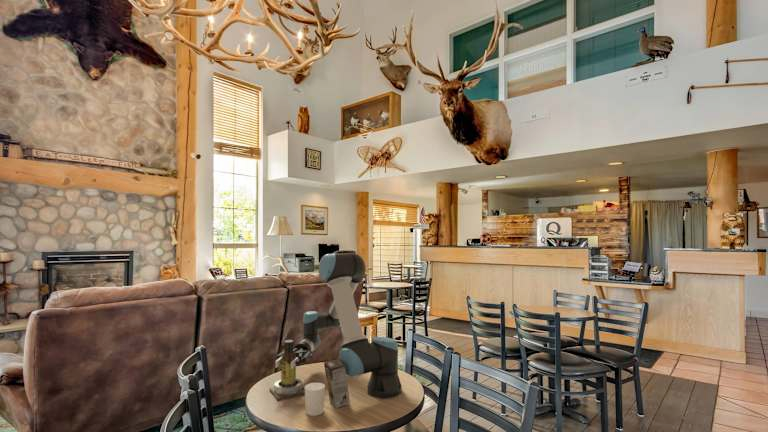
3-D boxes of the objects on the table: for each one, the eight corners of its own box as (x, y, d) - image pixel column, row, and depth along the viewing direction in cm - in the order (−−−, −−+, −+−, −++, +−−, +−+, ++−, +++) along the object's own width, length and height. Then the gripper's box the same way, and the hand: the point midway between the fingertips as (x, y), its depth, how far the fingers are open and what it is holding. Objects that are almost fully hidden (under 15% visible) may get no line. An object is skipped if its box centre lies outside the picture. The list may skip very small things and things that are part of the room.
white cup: (320, 417, 156) (320, 391, 156) (301, 415, 157) (301, 389, 157) (327, 408, 163) (327, 383, 164) (308, 407, 165) (309, 381, 165)
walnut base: (307, 394, 177) (307, 392, 177) (277, 400, 170) (277, 398, 171) (297, 384, 188) (297, 382, 188) (269, 390, 182) (269, 387, 182)
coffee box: (328, 399, 172) (323, 362, 171) (343, 395, 174) (337, 357, 174) (335, 408, 163) (330, 369, 163) (350, 403, 166) (345, 364, 166)
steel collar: (305, 391, 177) (305, 384, 177) (279, 397, 172) (279, 390, 172) (296, 383, 187) (296, 376, 187) (271, 388, 181) (271, 381, 182)
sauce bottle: (280, 384, 181) (280, 339, 182) (294, 382, 184) (294, 338, 184) (282, 390, 175) (282, 343, 176) (296, 388, 178) (297, 341, 178)
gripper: (322, 358, 196) (305, 375, 173) (284, 355, 199) (262, 372, 176) (322, 342, 196) (305, 357, 173) (284, 340, 199) (263, 354, 176)
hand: (283, 364), depth 175 cm, fingers closed on sauce bottle, 6 cm apart
